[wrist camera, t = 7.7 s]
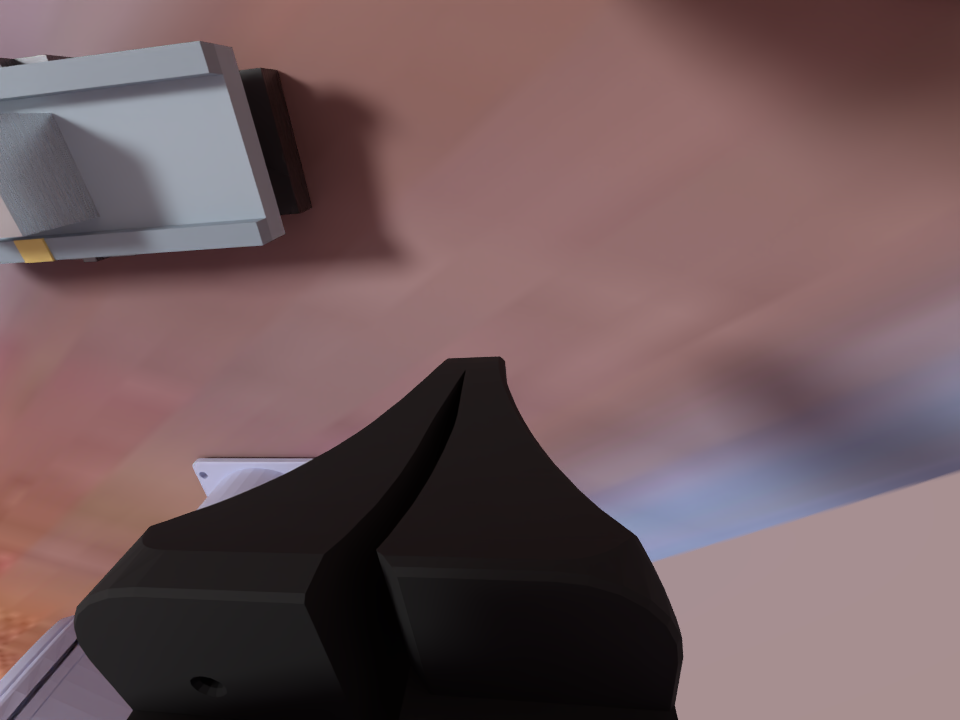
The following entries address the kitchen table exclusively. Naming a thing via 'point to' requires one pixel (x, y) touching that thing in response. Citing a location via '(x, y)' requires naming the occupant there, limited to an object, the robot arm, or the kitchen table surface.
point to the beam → (150, 152)
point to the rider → (38, 177)
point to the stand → (270, 131)
